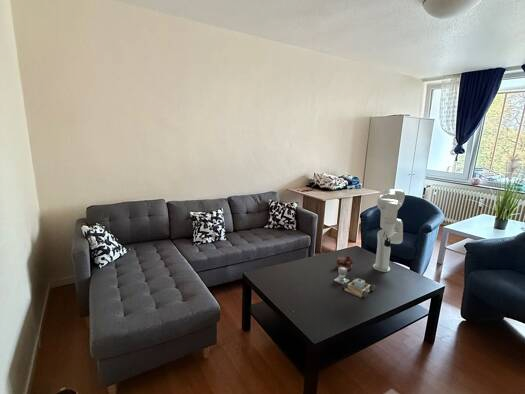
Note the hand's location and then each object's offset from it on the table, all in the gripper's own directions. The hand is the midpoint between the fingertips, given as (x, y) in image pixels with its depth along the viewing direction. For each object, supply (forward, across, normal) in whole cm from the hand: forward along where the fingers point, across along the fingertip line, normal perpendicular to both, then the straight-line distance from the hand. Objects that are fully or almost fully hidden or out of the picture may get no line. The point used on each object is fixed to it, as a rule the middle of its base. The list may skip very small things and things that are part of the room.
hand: (386, 246), depth 188 cm
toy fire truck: (+29, -2, -31) cm, 43 cm away
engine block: (+28, +19, -8) cm, 34 cm away
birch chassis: (+29, +19, -8) cm, 35 cm away
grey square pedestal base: (+29, +17, -22) cm, 40 cm away
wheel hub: (+23, +17, -22) cm, 36 cm away
